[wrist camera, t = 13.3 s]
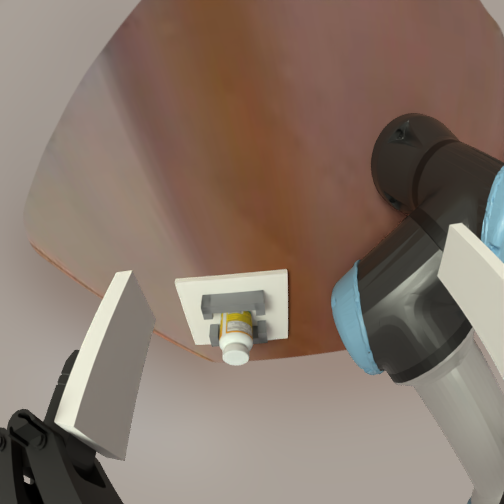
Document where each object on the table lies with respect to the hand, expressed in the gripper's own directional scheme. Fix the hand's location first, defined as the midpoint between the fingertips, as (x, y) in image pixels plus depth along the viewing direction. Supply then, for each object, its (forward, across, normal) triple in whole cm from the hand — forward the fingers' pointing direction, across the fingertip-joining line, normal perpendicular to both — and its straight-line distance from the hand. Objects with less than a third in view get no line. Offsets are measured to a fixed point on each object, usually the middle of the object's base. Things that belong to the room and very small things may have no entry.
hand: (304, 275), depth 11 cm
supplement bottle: (+27, +8, +28) cm, 40 cm away
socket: (+28, +8, +28) cm, 41 cm away
